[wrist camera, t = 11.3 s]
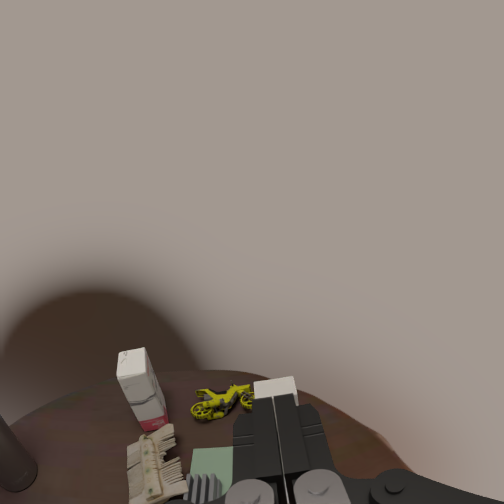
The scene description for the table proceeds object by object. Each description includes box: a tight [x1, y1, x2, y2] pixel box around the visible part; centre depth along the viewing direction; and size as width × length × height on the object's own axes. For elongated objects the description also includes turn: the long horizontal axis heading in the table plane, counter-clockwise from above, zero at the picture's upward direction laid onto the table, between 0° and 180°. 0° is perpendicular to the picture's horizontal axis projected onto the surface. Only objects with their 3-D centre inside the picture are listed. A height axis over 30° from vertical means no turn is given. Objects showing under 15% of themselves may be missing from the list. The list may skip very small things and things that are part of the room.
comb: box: [127, 424, 188, 504], centre depth 33 cm, size 15×2×10 cm
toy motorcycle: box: [191, 380, 255, 420], centre depth 47 cm, size 12×4×7 cm
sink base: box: [183, 447, 289, 504], centre depth 28 cm, size 22×18×5 cm
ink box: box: [117, 347, 169, 432], centre depth 45 cm, size 9×5×12 cm, turn 19°
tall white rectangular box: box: [254, 376, 299, 474], centre depth 32 cm, size 8×4×14 cm, turn 2°
